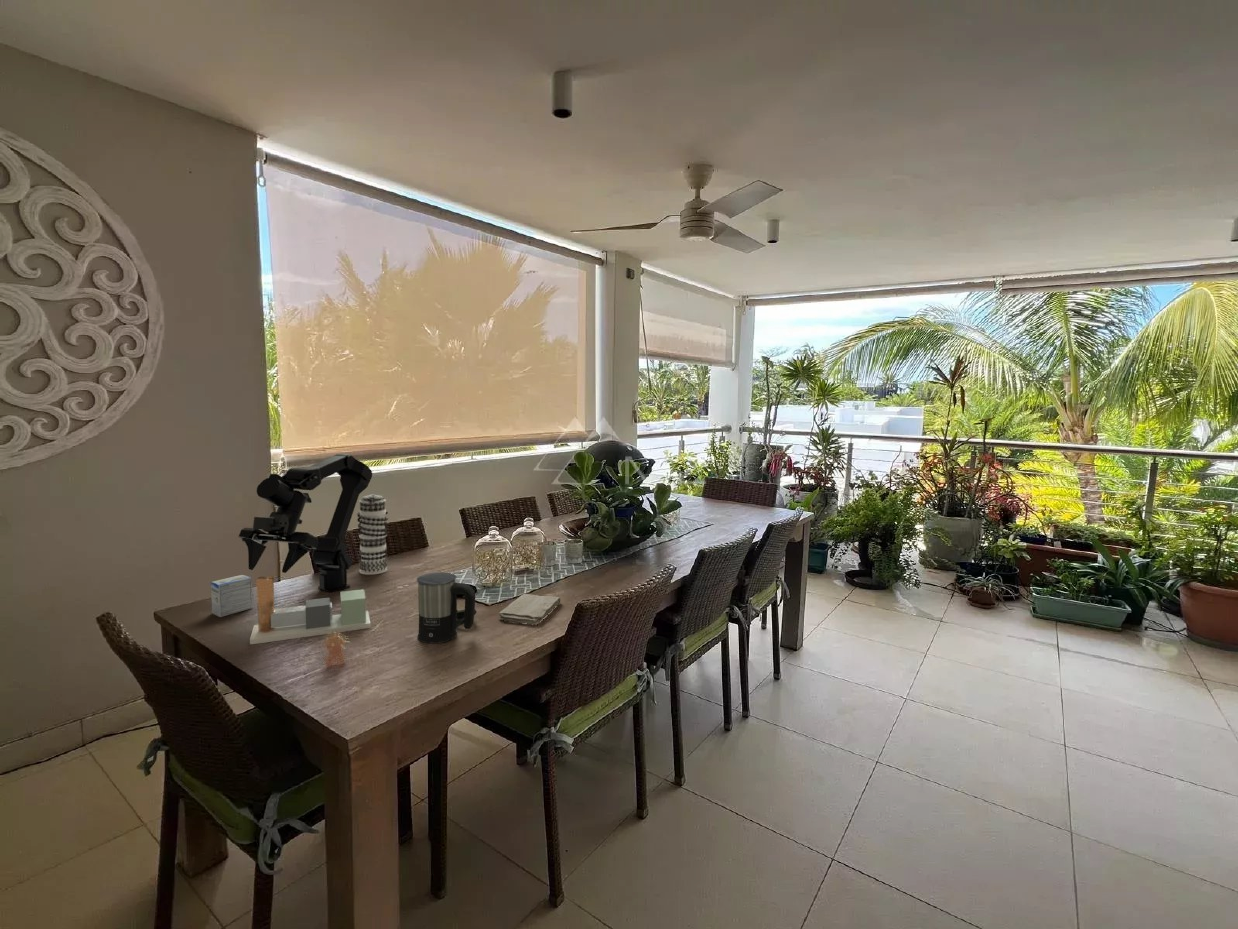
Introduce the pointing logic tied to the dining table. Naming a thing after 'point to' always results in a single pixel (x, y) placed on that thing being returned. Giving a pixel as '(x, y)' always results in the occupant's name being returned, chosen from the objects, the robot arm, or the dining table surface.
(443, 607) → the milk frother
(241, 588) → the medicine box
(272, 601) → the tube
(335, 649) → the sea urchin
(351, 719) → the dining table surface
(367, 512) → the decorative candle
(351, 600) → the socket block
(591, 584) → the dining table surface
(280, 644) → the dining table surface
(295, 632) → the tube stand
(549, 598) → the washcloth
